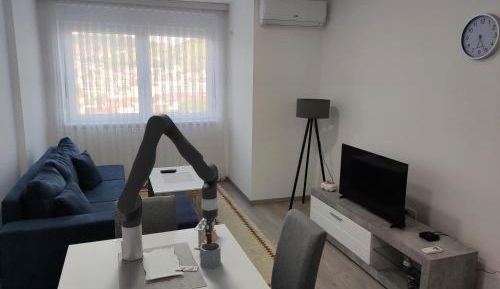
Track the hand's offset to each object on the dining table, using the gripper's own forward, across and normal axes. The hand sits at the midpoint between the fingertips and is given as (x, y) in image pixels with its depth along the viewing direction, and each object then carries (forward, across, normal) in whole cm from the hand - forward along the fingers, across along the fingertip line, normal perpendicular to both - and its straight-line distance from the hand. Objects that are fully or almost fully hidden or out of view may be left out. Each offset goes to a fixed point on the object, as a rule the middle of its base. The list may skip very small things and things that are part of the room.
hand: (210, 239), depth 165 cm
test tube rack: (+13, -26, -7) cm, 30 cm away
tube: (+12, 0, 0) cm, 12 cm away
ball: (-2, 0, 0) cm, 2 cm away
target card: (+12, +5, -11) cm, 17 cm away
